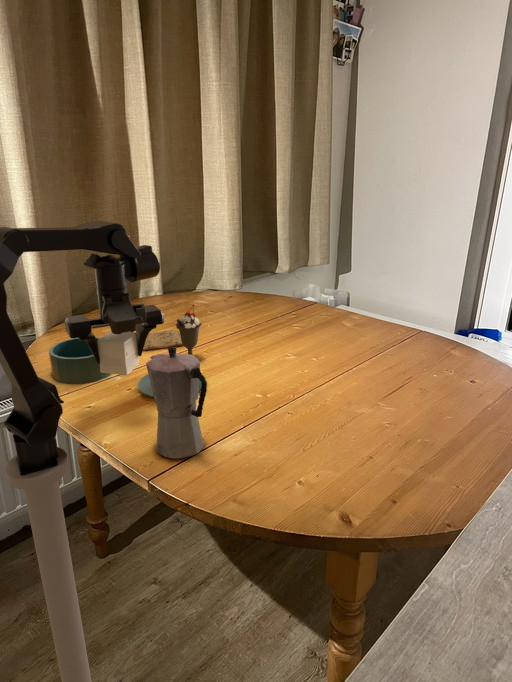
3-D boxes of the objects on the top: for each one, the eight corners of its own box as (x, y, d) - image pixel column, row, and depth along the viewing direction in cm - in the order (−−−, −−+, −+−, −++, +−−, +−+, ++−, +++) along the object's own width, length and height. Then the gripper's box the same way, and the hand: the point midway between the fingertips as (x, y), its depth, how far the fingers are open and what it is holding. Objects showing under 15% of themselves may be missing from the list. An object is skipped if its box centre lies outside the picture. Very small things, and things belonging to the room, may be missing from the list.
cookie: (186, 345, 142) (185, 342, 142) (143, 351, 138) (142, 347, 137) (176, 331, 152) (176, 328, 152) (136, 336, 148) (135, 333, 148)
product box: (127, 376, 101) (123, 342, 99) (99, 373, 102) (95, 339, 100) (140, 364, 107) (137, 332, 104) (113, 361, 108) (110, 329, 105)
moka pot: (173, 423, 102) (168, 332, 95) (229, 451, 93) (228, 352, 86) (136, 443, 95) (127, 346, 88) (192, 475, 86) (187, 370, 79)
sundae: (205, 355, 135) (203, 302, 130) (200, 365, 129) (198, 310, 124) (181, 354, 136) (178, 301, 130) (175, 364, 130) (172, 309, 124)
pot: (59, 389, 116) (55, 363, 114) (48, 366, 128) (44, 342, 126) (121, 375, 123) (118, 351, 121) (105, 355, 135) (102, 332, 133)
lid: (151, 408, 108) (149, 385, 106) (129, 380, 121) (127, 359, 119) (216, 391, 116) (215, 369, 113) (189, 367, 128) (188, 347, 126)
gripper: (70, 303, 87) (81, 384, 93) (171, 290, 96) (175, 364, 102) (59, 288, 96) (69, 362, 102) (152, 278, 105) (157, 346, 111)
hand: (119, 359), depth 104 cm, fingers closed on product box, 8 cm apart
